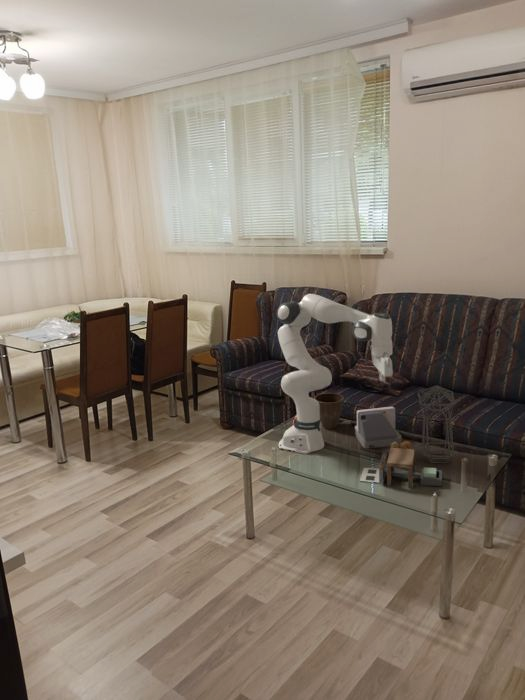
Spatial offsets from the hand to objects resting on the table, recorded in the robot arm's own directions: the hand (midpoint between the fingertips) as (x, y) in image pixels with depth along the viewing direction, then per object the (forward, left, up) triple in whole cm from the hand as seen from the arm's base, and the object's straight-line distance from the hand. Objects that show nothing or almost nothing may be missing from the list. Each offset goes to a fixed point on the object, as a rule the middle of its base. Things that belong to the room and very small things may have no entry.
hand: (382, 380), depth 248 cm
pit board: (-3, -19, -37) cm, 42 cm away
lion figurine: (+8, +2, -37) cm, 38 cm away
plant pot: (-31, +31, -37) cm, 58 cm away
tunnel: (+9, -19, -37) cm, 43 cm away
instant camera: (-5, +19, -38) cm, 42 cm away
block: (+21, -19, -37) cm, 47 cm away
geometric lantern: (+23, +2, -37) cm, 44 cm away
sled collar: (+13, -19, -37) cm, 44 cm away
